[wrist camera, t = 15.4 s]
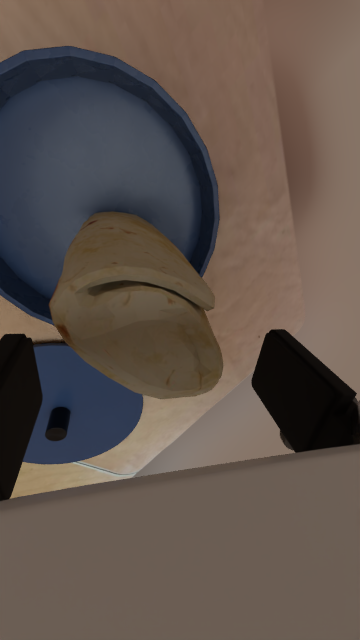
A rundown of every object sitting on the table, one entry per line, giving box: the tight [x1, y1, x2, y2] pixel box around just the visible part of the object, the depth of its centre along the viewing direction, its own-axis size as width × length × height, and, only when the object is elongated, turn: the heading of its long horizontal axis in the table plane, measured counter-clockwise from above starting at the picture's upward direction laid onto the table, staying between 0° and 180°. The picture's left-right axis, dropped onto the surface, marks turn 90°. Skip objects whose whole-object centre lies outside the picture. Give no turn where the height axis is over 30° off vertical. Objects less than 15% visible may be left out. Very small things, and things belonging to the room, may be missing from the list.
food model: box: [49, 211, 223, 399], centre depth 19 cm, size 10×7×20 cm
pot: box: [0, 46, 220, 326], centre depth 24 cm, size 22×22×4 cm
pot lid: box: [23, 343, 143, 464], centre depth 34 cm, size 23×23×5 cm
